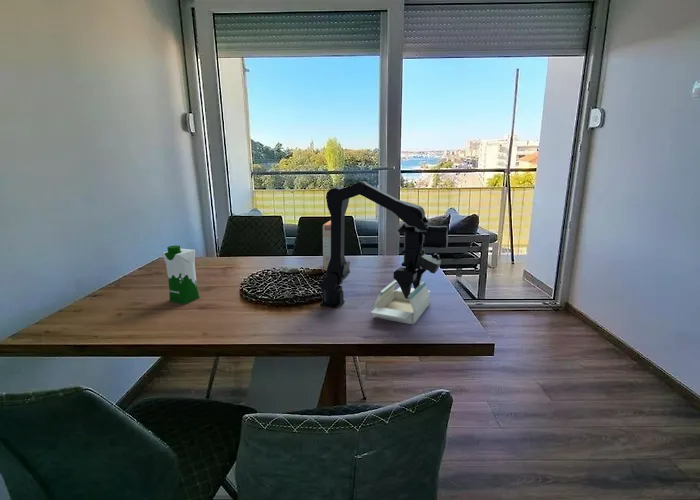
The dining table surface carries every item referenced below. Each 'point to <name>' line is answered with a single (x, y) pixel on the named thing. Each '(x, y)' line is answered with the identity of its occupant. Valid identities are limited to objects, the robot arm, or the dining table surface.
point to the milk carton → (181, 274)
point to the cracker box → (326, 244)
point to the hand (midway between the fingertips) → (411, 293)
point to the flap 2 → (418, 296)
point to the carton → (399, 308)
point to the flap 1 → (386, 292)
